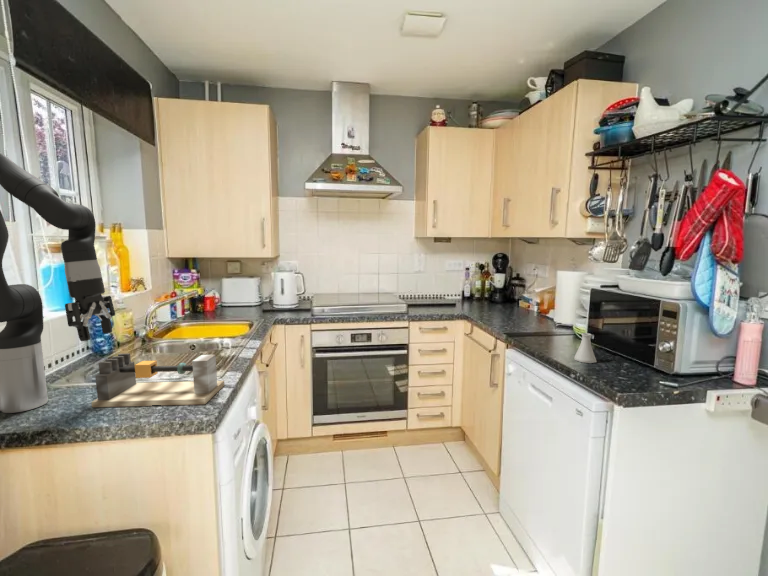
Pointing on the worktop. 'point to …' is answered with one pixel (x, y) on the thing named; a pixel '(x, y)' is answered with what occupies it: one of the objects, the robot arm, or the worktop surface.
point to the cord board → (155, 384)
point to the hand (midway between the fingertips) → (97, 336)
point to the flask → (585, 350)
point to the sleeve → (145, 369)
